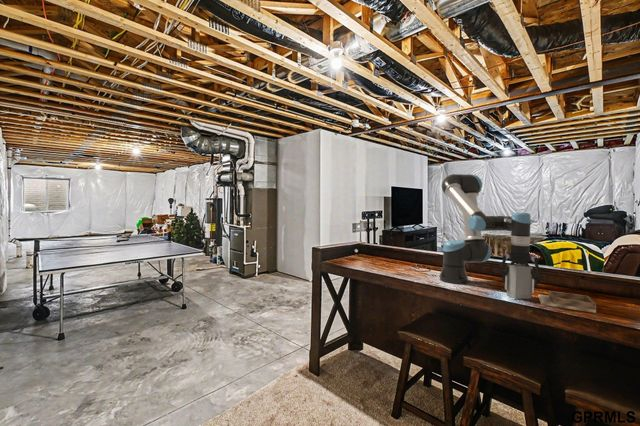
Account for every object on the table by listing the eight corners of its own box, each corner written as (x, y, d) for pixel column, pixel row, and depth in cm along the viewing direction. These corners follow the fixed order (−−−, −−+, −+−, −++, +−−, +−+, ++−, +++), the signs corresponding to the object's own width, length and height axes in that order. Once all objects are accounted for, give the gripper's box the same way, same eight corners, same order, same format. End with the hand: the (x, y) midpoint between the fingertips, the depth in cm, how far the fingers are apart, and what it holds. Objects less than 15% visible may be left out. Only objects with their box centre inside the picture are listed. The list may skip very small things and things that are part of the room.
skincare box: (521, 294, 141) (522, 263, 141) (533, 299, 134) (534, 266, 133) (505, 295, 141) (506, 263, 140) (515, 299, 134) (516, 266, 133)
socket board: (541, 304, 128) (541, 296, 127) (538, 296, 138) (538, 289, 138) (595, 312, 118) (596, 304, 118) (588, 303, 129) (588, 295, 129)
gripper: (492, 243, 140) (491, 288, 140) (551, 247, 127) (549, 297, 128) (493, 242, 146) (492, 285, 146) (549, 245, 134) (547, 292, 134)
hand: (518, 290), depth 137 cm, fingers closed on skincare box, 10 cm apart
